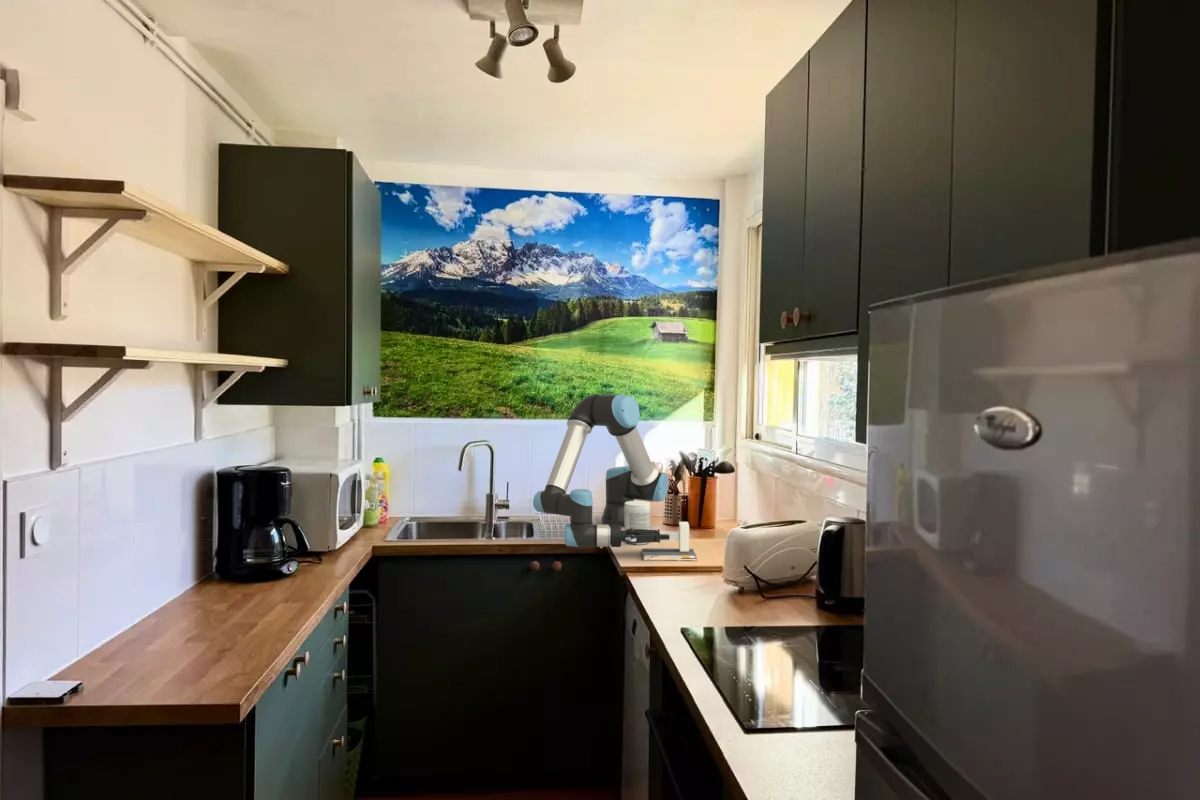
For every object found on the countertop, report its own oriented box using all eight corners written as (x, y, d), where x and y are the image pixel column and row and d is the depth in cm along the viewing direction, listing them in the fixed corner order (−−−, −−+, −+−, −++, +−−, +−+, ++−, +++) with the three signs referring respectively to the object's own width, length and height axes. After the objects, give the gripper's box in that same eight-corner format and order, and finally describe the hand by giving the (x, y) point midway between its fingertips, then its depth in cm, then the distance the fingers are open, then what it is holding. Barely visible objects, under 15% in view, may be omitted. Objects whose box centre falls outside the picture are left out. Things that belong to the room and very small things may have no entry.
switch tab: (678, 551, 252) (679, 521, 251) (687, 551, 252) (687, 521, 251) (680, 555, 247) (680, 525, 246) (689, 555, 247) (689, 525, 246)
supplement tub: (655, 542, 268) (655, 502, 267) (638, 546, 262) (638, 506, 261) (636, 537, 275) (636, 499, 274) (618, 542, 269) (618, 502, 268)
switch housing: (641, 551, 255) (641, 546, 255) (692, 551, 255) (693, 546, 255) (643, 560, 243) (643, 555, 243) (697, 560, 243) (697, 555, 243)
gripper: (609, 541, 256) (677, 542, 255) (609, 551, 243) (680, 552, 242) (609, 520, 255) (677, 521, 255) (609, 529, 242) (680, 529, 242)
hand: (678, 536), depth 249 cm, fingers closed
